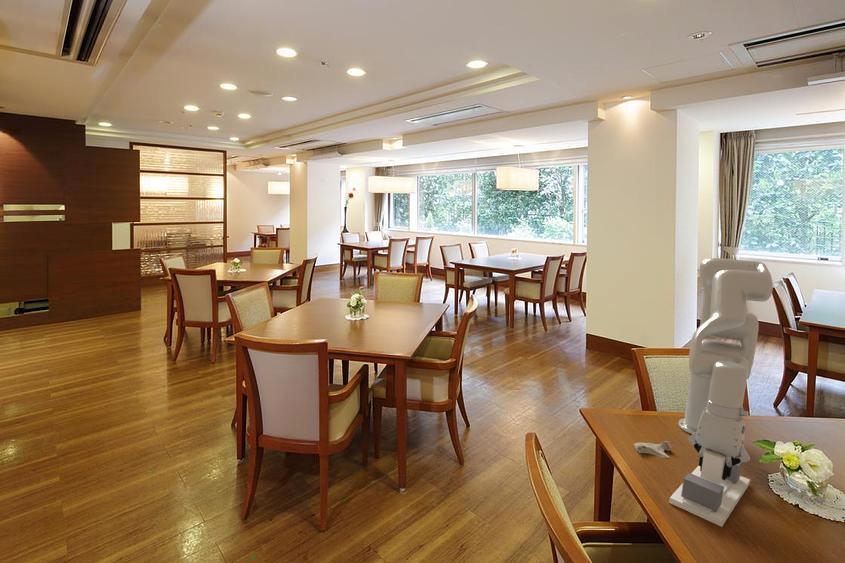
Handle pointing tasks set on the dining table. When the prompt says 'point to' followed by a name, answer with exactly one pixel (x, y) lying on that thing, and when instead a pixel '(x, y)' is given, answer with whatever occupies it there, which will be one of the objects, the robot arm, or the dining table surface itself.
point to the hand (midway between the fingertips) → (713, 473)
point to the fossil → (653, 448)
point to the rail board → (724, 504)
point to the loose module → (713, 466)
